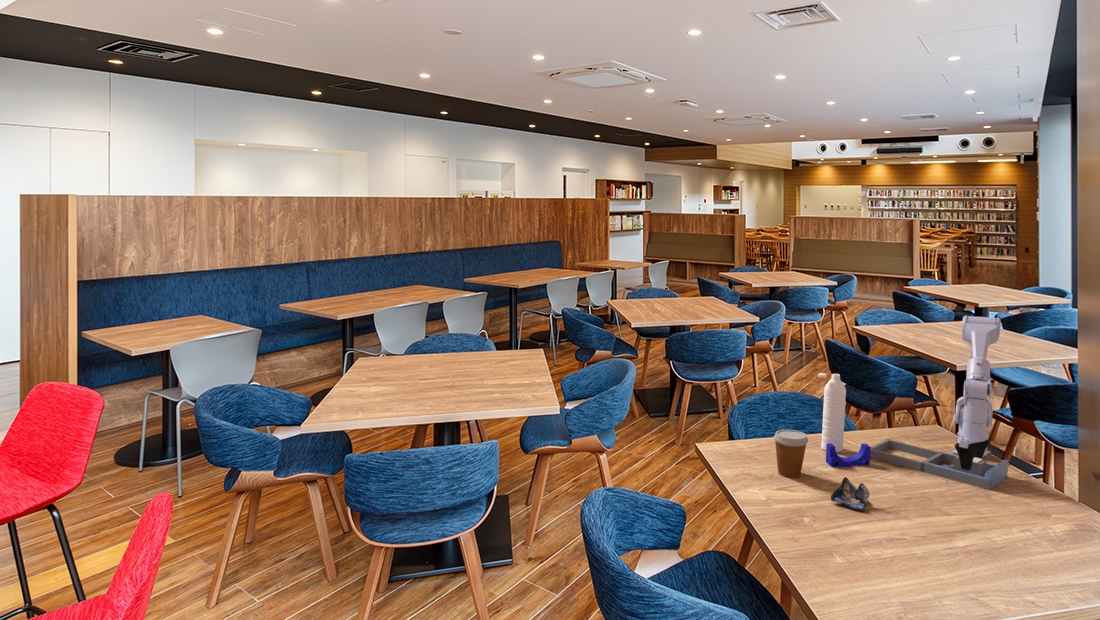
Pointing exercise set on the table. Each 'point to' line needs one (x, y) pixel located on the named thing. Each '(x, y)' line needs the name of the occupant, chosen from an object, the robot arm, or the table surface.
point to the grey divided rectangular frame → (930, 465)
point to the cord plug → (976, 469)
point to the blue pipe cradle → (857, 459)
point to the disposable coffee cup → (790, 451)
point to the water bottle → (833, 412)
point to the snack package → (851, 495)
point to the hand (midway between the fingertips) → (970, 466)
